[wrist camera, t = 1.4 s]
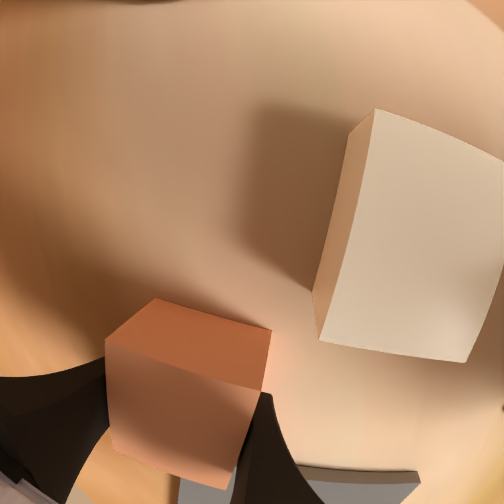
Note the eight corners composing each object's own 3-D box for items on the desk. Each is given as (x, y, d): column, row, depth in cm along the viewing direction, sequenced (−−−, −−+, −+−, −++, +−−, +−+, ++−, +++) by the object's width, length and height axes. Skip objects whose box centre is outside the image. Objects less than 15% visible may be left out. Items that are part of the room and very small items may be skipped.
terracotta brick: (271, 330, 12) (260, 391, 8) (241, 429, 13) (225, 490, 9) (155, 297, 12) (104, 339, 8) (147, 399, 14) (113, 450, 10)
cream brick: (461, 173, 10) (522, 172, 6) (423, 314, 11) (465, 362, 7) (347, 134, 10) (375, 107, 6) (311, 291, 11) (318, 340, 8)
